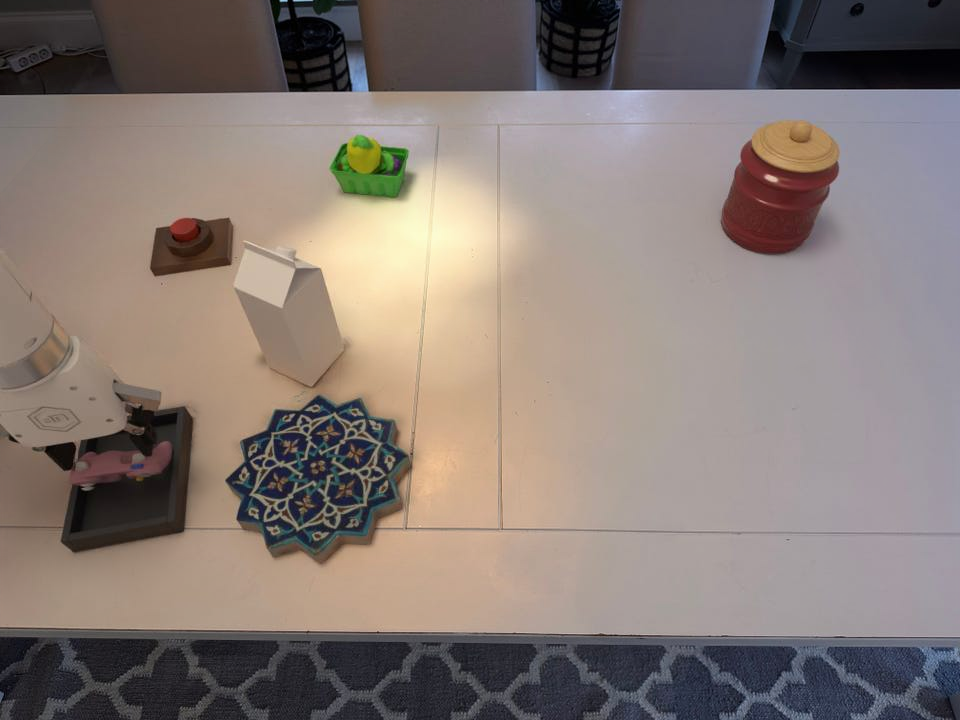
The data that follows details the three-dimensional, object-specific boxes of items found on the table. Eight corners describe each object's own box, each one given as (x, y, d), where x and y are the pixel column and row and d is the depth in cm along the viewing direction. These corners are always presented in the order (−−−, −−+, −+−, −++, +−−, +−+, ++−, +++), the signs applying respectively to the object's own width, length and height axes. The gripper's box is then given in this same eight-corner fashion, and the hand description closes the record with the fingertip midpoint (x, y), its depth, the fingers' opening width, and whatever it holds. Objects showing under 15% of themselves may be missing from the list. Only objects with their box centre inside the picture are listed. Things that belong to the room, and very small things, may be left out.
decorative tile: (264, 400, 84) (258, 388, 82) (421, 411, 82) (419, 400, 81) (207, 553, 72) (200, 544, 70) (391, 570, 70) (388, 561, 68)
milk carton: (312, 388, 85) (271, 282, 70) (268, 367, 87) (220, 260, 72) (345, 350, 89) (314, 241, 74) (303, 331, 91) (264, 221, 76)
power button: (173, 244, 98) (169, 235, 97) (175, 228, 100) (171, 219, 99) (199, 241, 98) (194, 231, 97) (200, 225, 101) (196, 216, 99)
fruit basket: (413, 174, 112) (405, 112, 103) (400, 208, 107) (391, 146, 98) (347, 168, 114) (334, 107, 105) (331, 201, 108) (316, 140, 99)
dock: (73, 552, 72) (60, 542, 70) (95, 435, 82) (84, 422, 79) (183, 531, 73) (174, 520, 71) (193, 418, 83) (184, 405, 81)
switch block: (154, 276, 98) (144, 258, 96) (160, 236, 104) (151, 218, 101) (230, 264, 100) (223, 247, 97) (232, 225, 105) (225, 207, 102)
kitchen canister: (703, 210, 105) (734, 106, 91) (776, 192, 107) (816, 88, 93) (749, 265, 97) (790, 160, 83) (826, 244, 99) (879, 139, 85)
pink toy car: (91, 493, 77) (56, 492, 70) (90, 453, 78) (55, 449, 71) (180, 480, 78) (154, 478, 71) (177, 441, 78) (151, 435, 72)
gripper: (-103, 400, 55) (18, 498, 69) (116, 365, 57) (191, 467, 71) (-74, 332, 60) (33, 437, 74) (127, 302, 62) (195, 409, 76)
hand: (110, 451), depth 72 cm, fingers closed on pink toy car, 7 cm apart
